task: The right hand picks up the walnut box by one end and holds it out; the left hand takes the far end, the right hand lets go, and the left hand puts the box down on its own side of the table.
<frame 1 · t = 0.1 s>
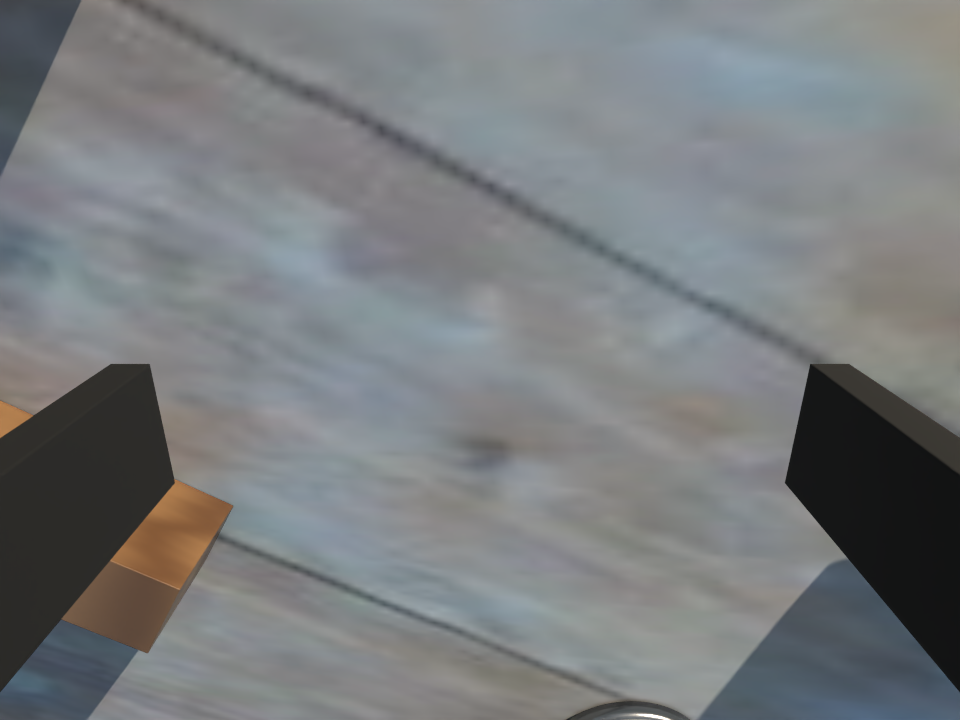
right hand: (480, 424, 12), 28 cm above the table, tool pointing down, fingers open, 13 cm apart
box: (75, 471, 45), on the table
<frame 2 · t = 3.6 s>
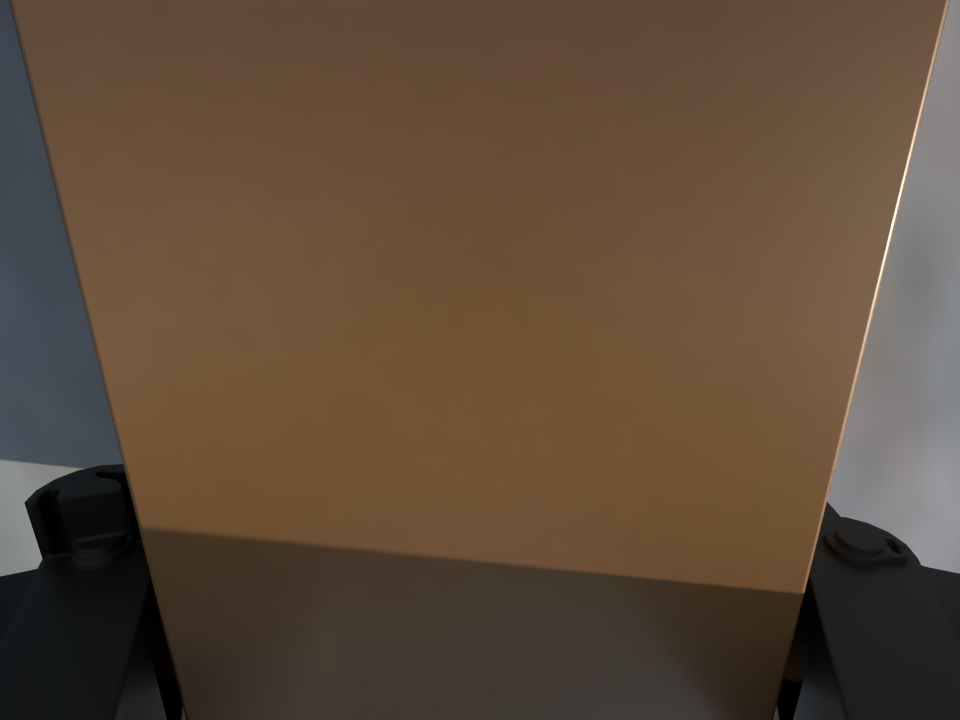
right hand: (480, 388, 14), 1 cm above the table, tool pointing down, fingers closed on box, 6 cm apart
box: (479, 3, 12), on the table, touching right hand
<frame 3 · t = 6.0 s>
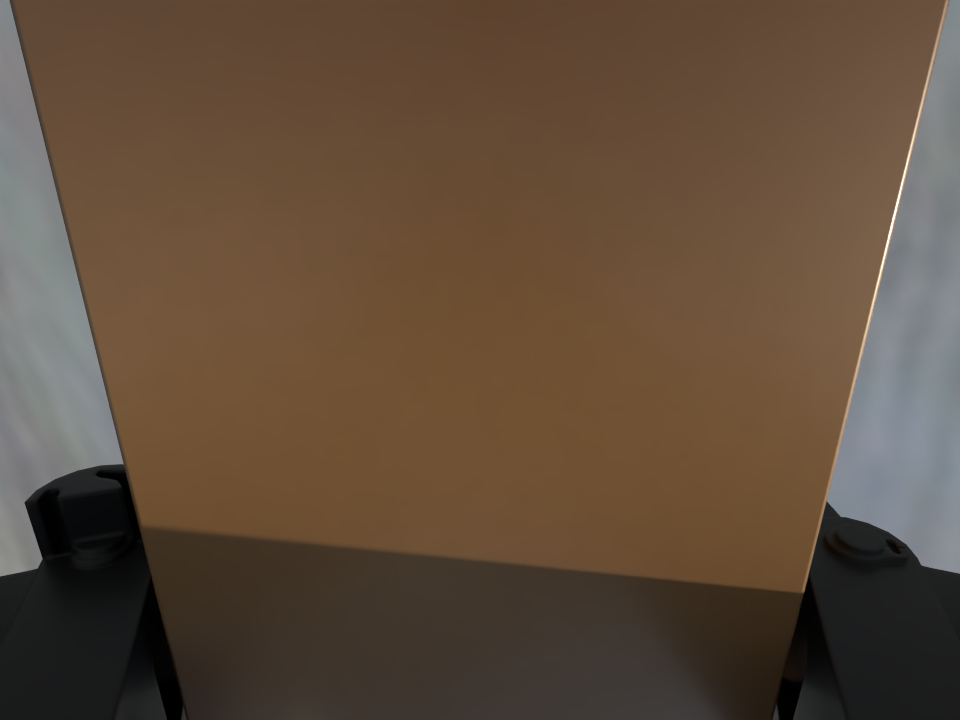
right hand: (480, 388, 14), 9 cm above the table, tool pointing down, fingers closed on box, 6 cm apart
box: (479, 2, 12), point 9 cm above the table, touching right hand
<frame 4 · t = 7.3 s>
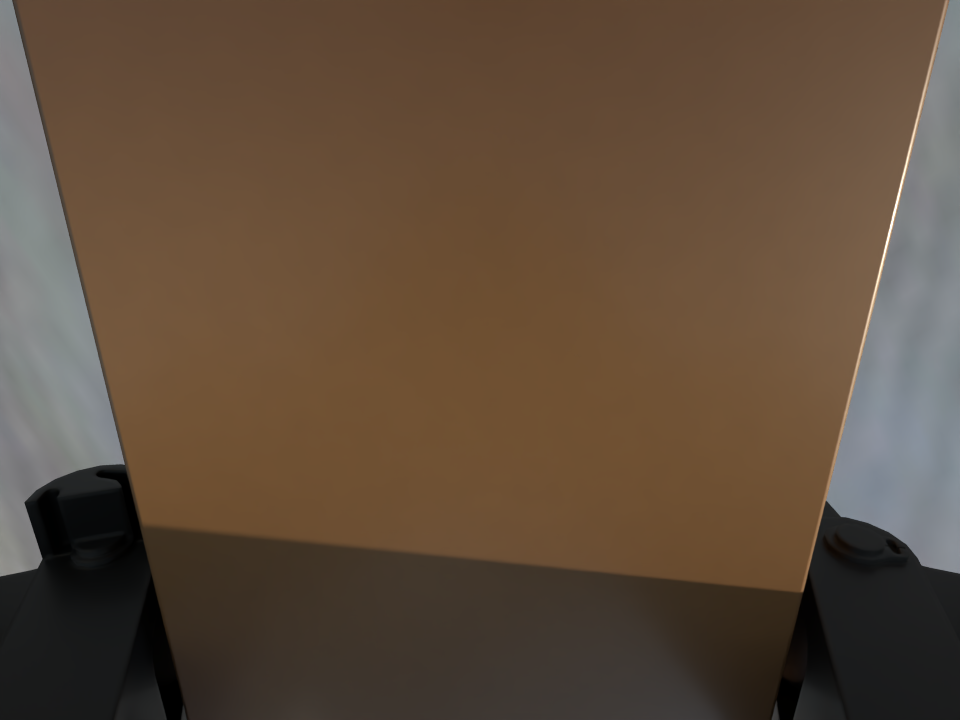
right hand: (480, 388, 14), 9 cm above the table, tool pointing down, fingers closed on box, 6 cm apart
box: (480, 3, 12), point 8 cm above the table, touching right hand, left hand
when the right hand's fingers open (9 cm above the table, at t = 8.4 s): box stays where it is, held by the left hand.
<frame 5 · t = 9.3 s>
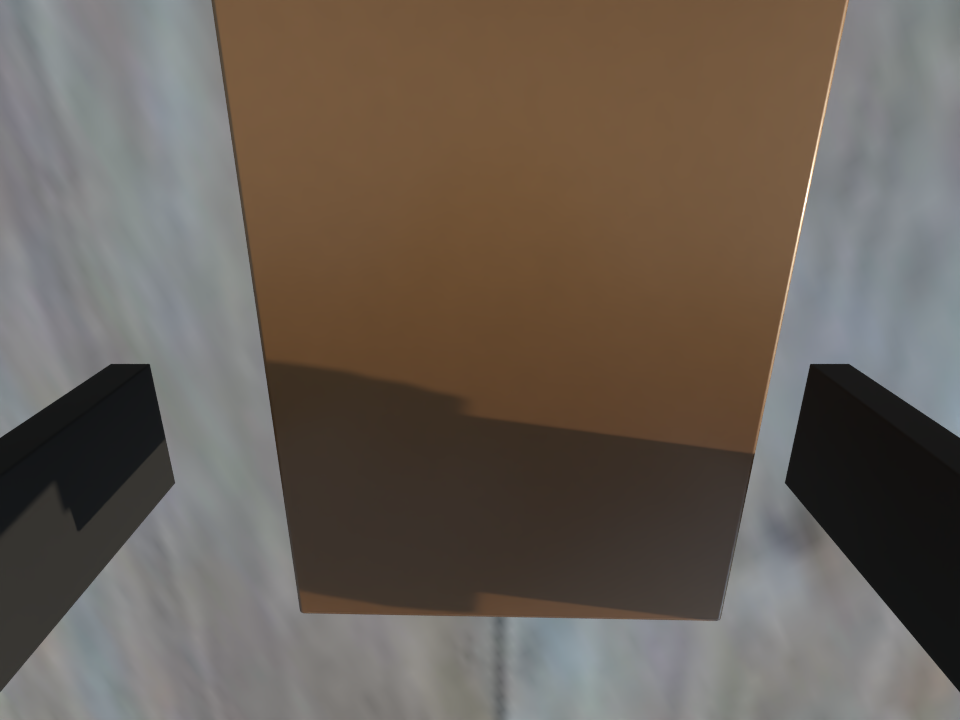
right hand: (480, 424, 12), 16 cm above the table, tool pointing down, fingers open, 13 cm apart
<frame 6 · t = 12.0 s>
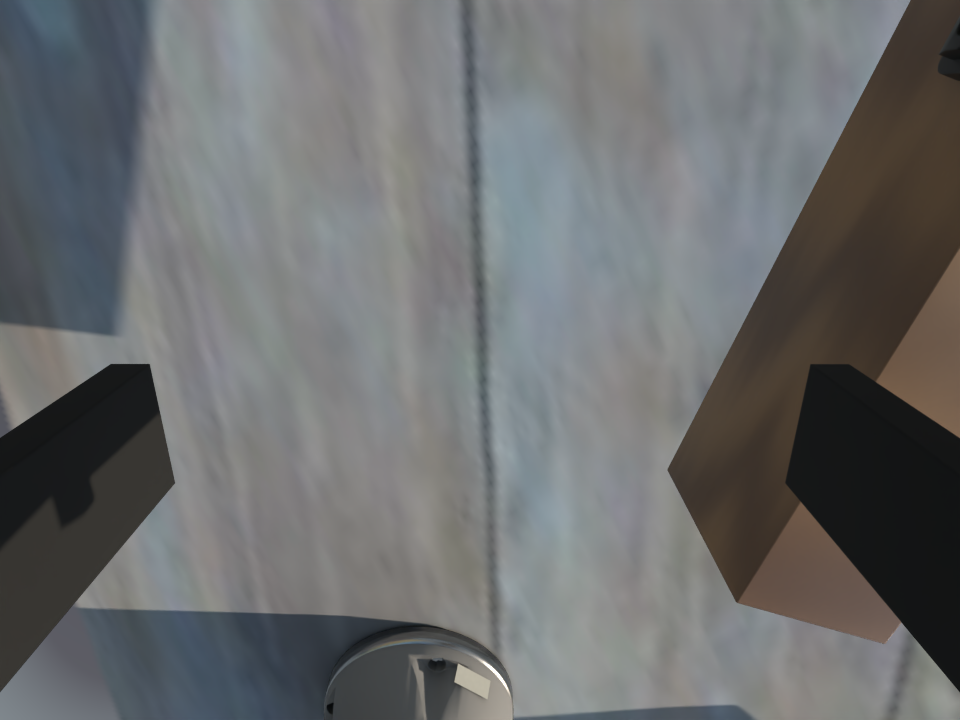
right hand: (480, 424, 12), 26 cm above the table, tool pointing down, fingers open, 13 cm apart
box: (840, 277, 27), point 11 cm above the table, touching left hand
when the left hand's fingers open (6 cm above the table, at t = 16.8 s): box drops 2 cm, on the table.
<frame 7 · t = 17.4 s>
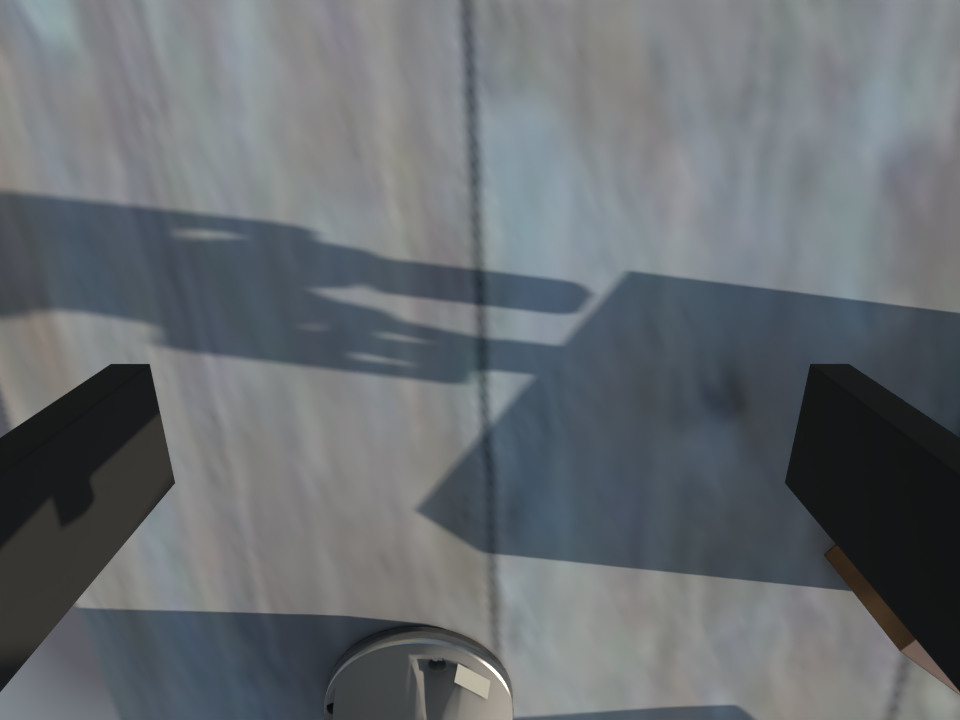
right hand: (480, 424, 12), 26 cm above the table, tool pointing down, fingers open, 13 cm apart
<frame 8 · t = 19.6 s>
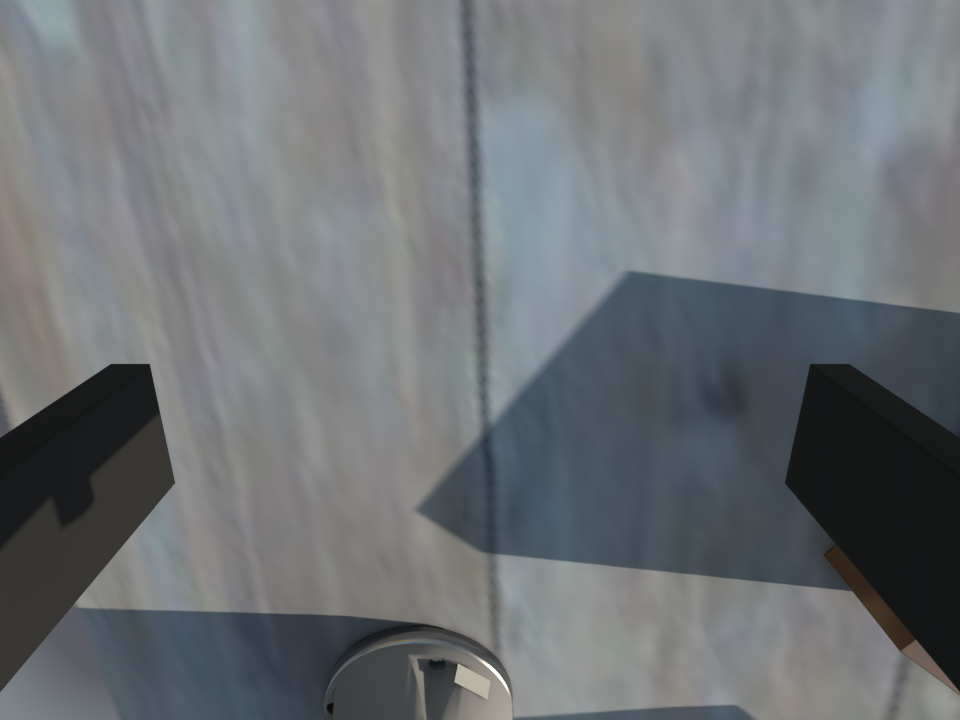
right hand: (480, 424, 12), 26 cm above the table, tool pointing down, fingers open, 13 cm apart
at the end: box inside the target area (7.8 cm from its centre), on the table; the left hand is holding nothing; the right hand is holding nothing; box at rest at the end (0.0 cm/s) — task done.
